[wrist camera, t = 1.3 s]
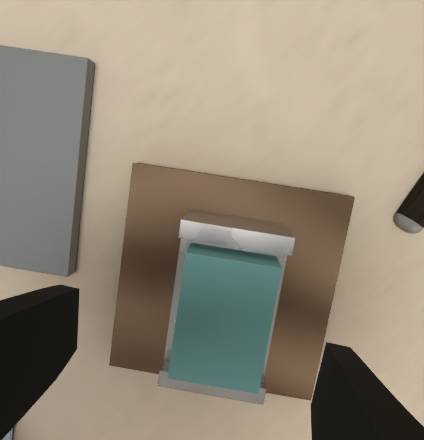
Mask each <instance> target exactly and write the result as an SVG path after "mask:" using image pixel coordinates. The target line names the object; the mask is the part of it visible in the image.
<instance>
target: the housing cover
mask: <svg viewBox="0 0 424 440" xmlns="http://www.w3.org/2000/svg"><path fill="white" fill-rule="evenodd" d="M281 271H282V267H281V265H280V263H279V261H278V259H277V257H276V256H272V255H266V254H260V253H254V252H248V251H241V250H235V249H229V248H223V247H217V246H210V245H204V244H198V243H192V242H191V244H190V245H189V247H188V249H187V251H186V253H185V260H184V267H183V274H182V281H181V288H180V295H179V302H178V309H177V316H176V322H175V329H174V336H173V343H172V350H171V357H170V364H169V371H168V378H169V379H175V380H180V381H186V382H192V383H198V384H203V385H209V386H215V387H221V388H226V389H232V390H238V391H244V392H249V393H255V394H258V393H259V388H260V382H261V377H262V372H263V367H264V361H265V356H266V351H267V345H268V340H269V335H270V330H271V324H272V319H273V314H274V308H275V303H276V298H277V293H278V287H279V282H280V277H281Z"/></svg>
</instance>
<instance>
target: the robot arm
mask: <svg viewBox="0 0 424 440" xmlns="http://www.w3.org/2000/svg"><path fill="white" fill-rule="evenodd" d="M78 308H79V289H78V288H73V287H68V286H64V285H57V286H51V287H47V288H43V289H39V290H35V291H32V292H28V293H25V294H21V295H18V296H14V297H11V298H7V299H4V300H0V440H12V430H13V427H14V426H15V425H16V424H17V423H18V421H19V420H20V419H21V418H22V417H23V416H24V415H25V414H26V412H27V411H28V410H29V409H30V408H31V407H32V406H33V405H34V404H35V402H36V401H37V400H38V399H39V398H40V397H41V396H42V395H43V393H44V392H45V391H46V390H47V389H48V388H49V387H50V386H51V384H52V383H53V382H54V381H55V380H56V379H57V377H58V376H59V374H60V373H61V372H62V370H63V369H64V367H65V366H66V365H67V363H68V362H69V360H70V358H71V357H72V355H73V354H74V352H75V351H76V349H77V334H78ZM311 427H312V440H424V427H423V426H422V425H421V424H420V423H419V422H418V421H417V420H416V419H415V418H414V417H413V416H412V415H411V414H410V413H409V412H408V411H407V410H406V408H405V407H404V406H403V405H402V404H401V403H400V402H399V401H398V400H397V399H396V398H395V397H394V396H393V395H392V393H391V392H390V391H389V390H388V389H387V388H386V387H385V386H384V385H383V384H382V382H381V381H380V380H379V379H378V378H377V377H376V376H375V374H374V373H373V372H372V371H371V370H370V369H369V368H368V367H367V365H366V364H365V363H364V362H363V361H362V360H361V359H360V357H359V356H358V355H357V354H356V353H355V352H354V351H353V350H352V349H351V348H350V347H346V346H341V345H337V344H332V343H327V342H326V346H325V350H324V354H323V358H322V363H321V367H320V371H319V375H318V379H317V383H316V387H315V391H314V395H313V399H312V403H311Z"/></svg>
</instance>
